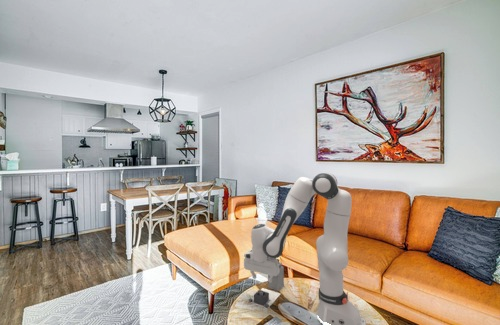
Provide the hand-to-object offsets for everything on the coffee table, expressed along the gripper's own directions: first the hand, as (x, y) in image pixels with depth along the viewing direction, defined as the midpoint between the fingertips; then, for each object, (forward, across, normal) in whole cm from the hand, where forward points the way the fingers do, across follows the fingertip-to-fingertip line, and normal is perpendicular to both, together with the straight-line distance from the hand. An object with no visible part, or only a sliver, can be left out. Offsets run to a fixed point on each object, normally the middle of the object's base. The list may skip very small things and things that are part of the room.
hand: (262, 280), depth 136 cm
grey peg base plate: (+14, +1, -4) cm, 14 cm away
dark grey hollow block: (+12, +1, 0) cm, 12 cm away
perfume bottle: (+14, +1, -17) cm, 22 cm away
